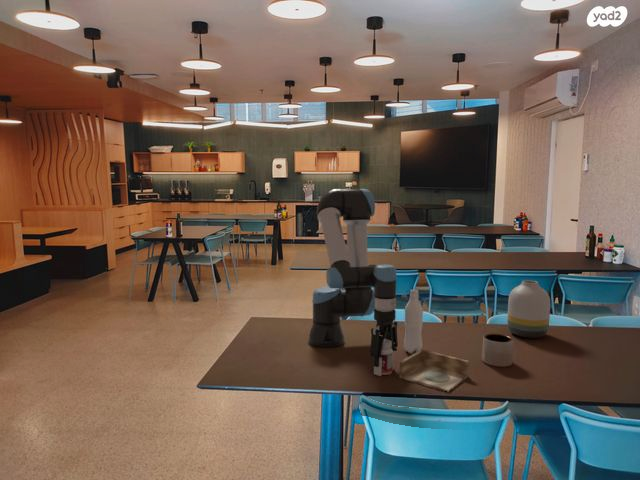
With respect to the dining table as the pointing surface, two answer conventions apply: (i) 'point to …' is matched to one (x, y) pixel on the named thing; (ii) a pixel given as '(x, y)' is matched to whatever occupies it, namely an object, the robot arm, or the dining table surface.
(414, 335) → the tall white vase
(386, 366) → the pill bottle
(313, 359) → the dining table surface
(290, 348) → the dining table surface
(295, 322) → the dining table surface
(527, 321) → the vase
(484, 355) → the planter
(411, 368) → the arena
